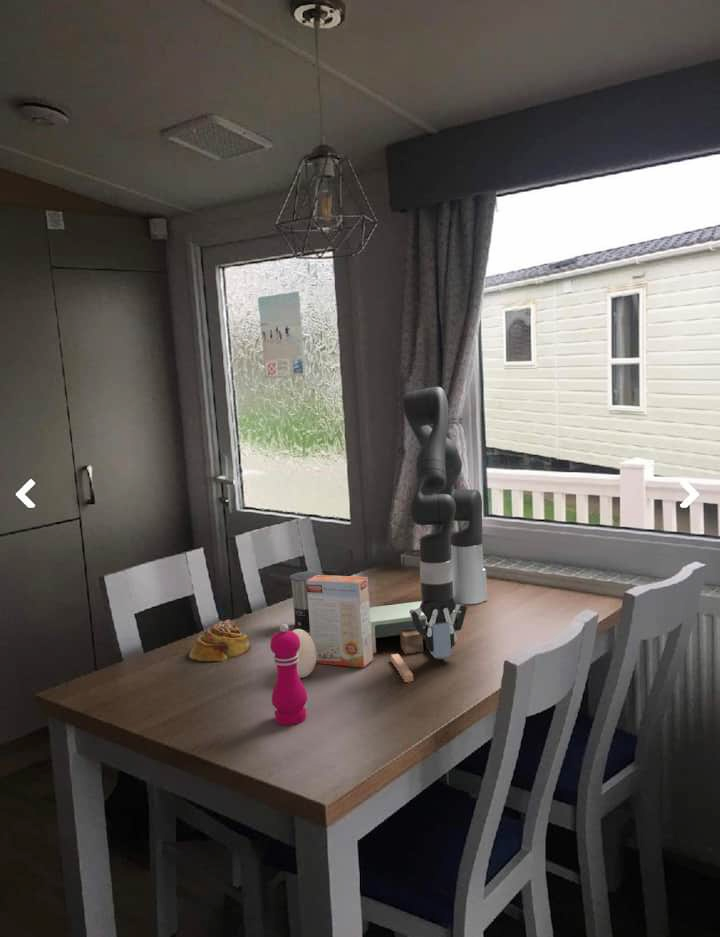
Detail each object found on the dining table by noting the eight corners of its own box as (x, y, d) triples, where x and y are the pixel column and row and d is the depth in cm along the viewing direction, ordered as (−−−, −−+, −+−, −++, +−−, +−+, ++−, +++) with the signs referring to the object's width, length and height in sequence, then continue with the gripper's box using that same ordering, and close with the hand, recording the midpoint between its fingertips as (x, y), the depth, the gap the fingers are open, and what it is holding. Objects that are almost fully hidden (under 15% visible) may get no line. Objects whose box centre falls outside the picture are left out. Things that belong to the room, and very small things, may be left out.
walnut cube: (418, 645, 202) (417, 628, 201) (423, 651, 197) (422, 633, 197) (401, 648, 201) (400, 630, 200) (405, 653, 196) (404, 636, 196)
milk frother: (287, 631, 220) (283, 578, 218) (313, 613, 234) (309, 564, 233) (334, 634, 214) (331, 580, 213) (357, 616, 229) (354, 566, 227)
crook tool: (451, 655, 188) (449, 622, 187) (421, 659, 187) (419, 626, 186) (432, 635, 204) (430, 604, 203) (404, 638, 202) (402, 608, 201)
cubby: (442, 627, 214) (441, 598, 213) (456, 641, 203) (455, 611, 202) (362, 638, 210) (360, 608, 209) (372, 653, 198) (370, 622, 197)
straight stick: (398, 661, 192) (398, 653, 192) (413, 683, 179) (412, 674, 178) (391, 662, 192) (391, 654, 192) (405, 684, 178) (405, 675, 178)
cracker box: (374, 660, 193) (368, 575, 191) (363, 669, 188) (358, 582, 186) (323, 654, 199) (317, 573, 197) (311, 663, 194) (305, 579, 192)
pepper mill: (273, 713, 167) (266, 620, 164) (308, 709, 167) (301, 617, 165) (272, 728, 160) (265, 631, 157) (309, 724, 160) (301, 627, 158)
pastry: (259, 648, 208) (257, 618, 207) (214, 666, 197) (211, 635, 196) (226, 639, 217) (223, 611, 216) (181, 657, 205) (178, 626, 204)
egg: (276, 680, 185) (273, 632, 183) (298, 668, 191) (294, 622, 190) (303, 685, 180) (300, 637, 179) (325, 673, 187) (321, 626, 185)
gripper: (460, 571, 193) (463, 640, 195) (403, 578, 190) (407, 648, 192) (470, 579, 185) (474, 650, 187) (411, 586, 183) (415, 658, 185)
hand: (440, 649), depth 190 cm, fingers closed on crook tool, 4 cm apart
